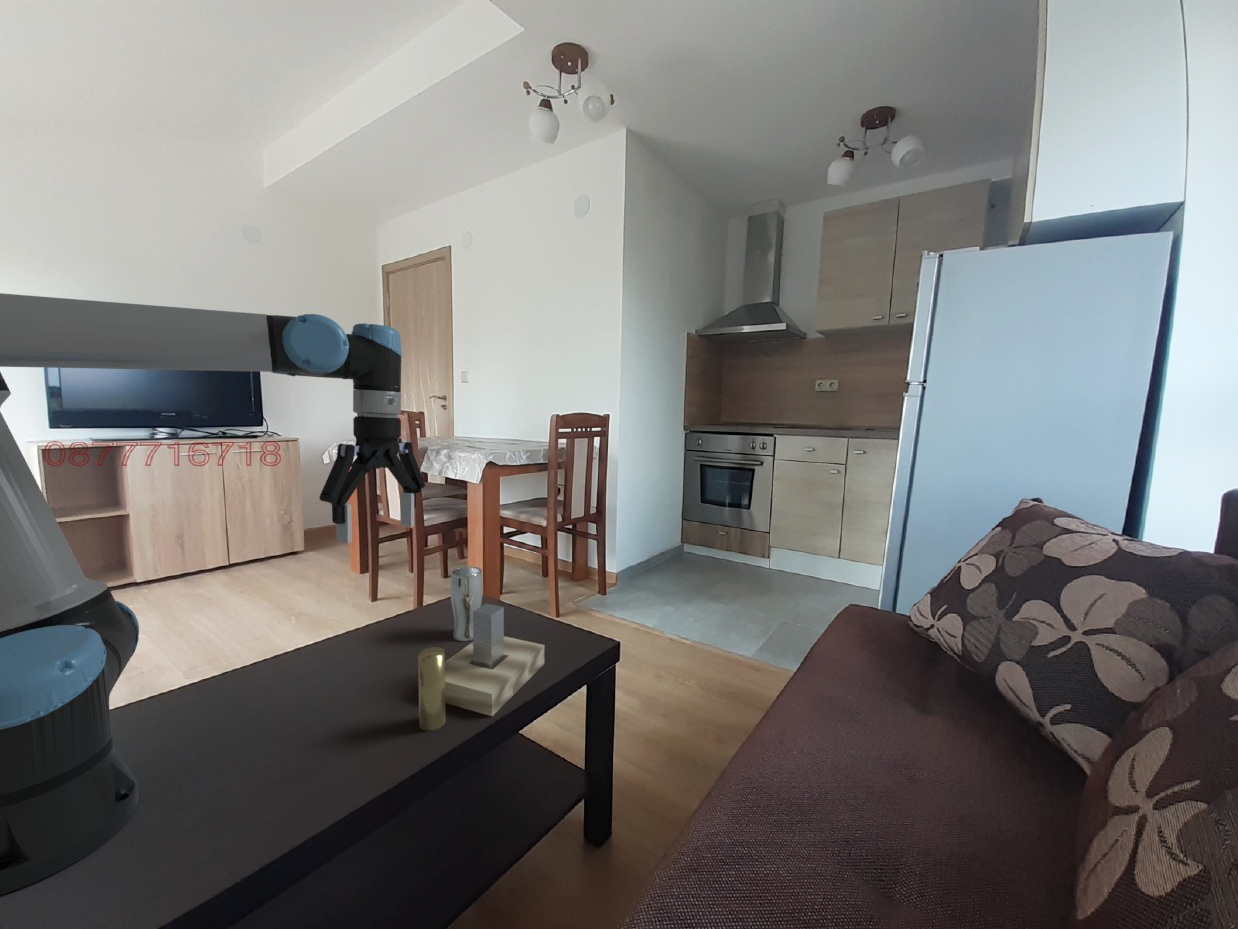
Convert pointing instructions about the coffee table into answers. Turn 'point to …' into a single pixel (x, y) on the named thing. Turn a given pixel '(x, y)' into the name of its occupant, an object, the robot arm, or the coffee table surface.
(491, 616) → the square bit
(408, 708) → the coffee table surface
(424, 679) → the round bit
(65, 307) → the robot arm
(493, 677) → the socket block
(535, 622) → the coffee table surface
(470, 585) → the beer glass
